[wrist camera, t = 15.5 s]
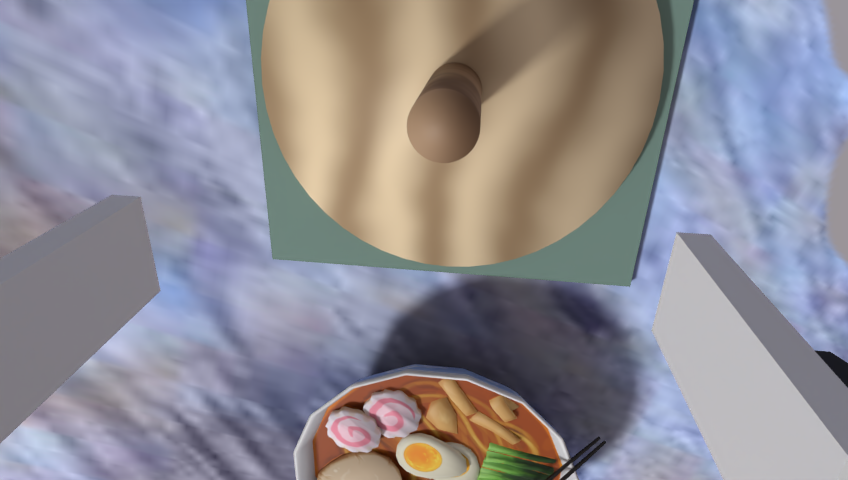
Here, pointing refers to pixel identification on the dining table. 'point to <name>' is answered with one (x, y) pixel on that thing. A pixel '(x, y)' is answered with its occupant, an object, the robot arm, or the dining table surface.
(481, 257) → the lid
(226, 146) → the dining table surface
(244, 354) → the dining table surface
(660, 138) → the mat
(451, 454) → the ramen bowl
